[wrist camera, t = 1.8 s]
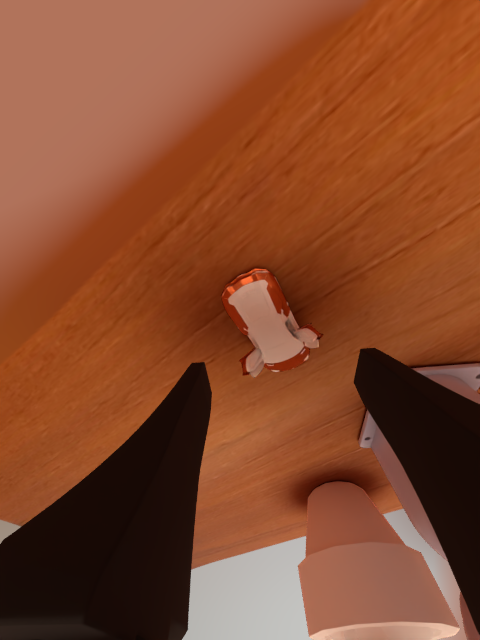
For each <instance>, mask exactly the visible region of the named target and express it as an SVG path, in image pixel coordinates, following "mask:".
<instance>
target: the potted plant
mask: <svg viewBox="0 0 480 640" xmlns="http://www.w3.org/2000/svg"><path fill="white" fill-rule="evenodd" d="M298 569H299V576H300V582H301V589H302V595H303V601H304V608H305V614H306V620H307V626H308V632H309V637H310V638H311V639H313V640H438V639H442V638H446V637H450V636H454V635H456V633H457V632H458V631H459V629H460V627H459V625H458V623H457V621H456V620H455V617H454V616H453V614H452V612H451V610H450V608H449V606H448V604H447V602H446V600H445V598H444V596H443V594H442V592H441V590H440V589H439V587H438V585H437V583H436V581H435V579H434V577H433V575H432V573H431V571H430V569H429V567H428V565H427V563H426V561H425V560H424V558H423V556H422V554H421V552H419V551H416V550H414V549H412V548H410V547H408V546H406V545H405V544H404V542H403V541H402V540H401V539H400V537H399V536H398V534H397V533H396V532H395V530H394V529H393V528H392V527H391V525H390V524H389V523H388V521H387V520H386V519H385V517H384V516H383V515H382V513H381V512H380V511H379V509H378V508H377V507H376V505H375V504H374V503H373V501H372V500H371V499H370V497H369V496H368V495H367V493H366V492H365V491H364V490H363V489H362V488H360V487H359V486H357V485H355V484H353V483H350V482H341V481H336V482H330V483H325V484H323V485H321V486H319V487H317V488H315V489H314V490H313V491H312V493H311V494H310V495H309V497H308V507H307V533H306V558H305V559H304V560H303V561H302V562H301V563H300V564H299V565H298Z"/></svg>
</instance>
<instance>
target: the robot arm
mask: <svg viewBox="0 0 480 640" xmlns="http://www.w3.org/2000/svg"><path fill="white" fill-rule="evenodd" d="M354 384H355V386H356V388H357V391H358V393H359V395H360V397H361V399H362V401H363V403H364V405H365V407H366V408H367V412H366V416H365V419H364V423H363V427H362V431H361V434H360V438H359V445H360V447H362V448H372V450H373V452H374V454H375V456H376V458H377V460H378V461H379V463H380V465H381V467H382V469H383V471H384V473H385V474H386V476H387V478H388V480H389V482H390V484H391V486H392V487H393V489H394V491H395V493H396V495H397V497H398V499H399V500H400V502H401V504H402V506H403V508H404V510H405V511H406V513H407V515H408V517H409V519H410V521H411V522H412V524H413V526H414V527H415V529H416V530H417V531H418V533H419V534H420V535H421V536H422V538H423V539H424V540H425V541H426V542H427V543H428V544H429V545H430V546H431V547H432V548H433V549H434V550H435V551H436V552H437V553H438V554H439V555H441V556H442V557H443V558H444V559H446V560H447V561H448V562H449V565H450V567H451V569H452V572H453V574H454V576H455V579H456V581H457V584H458V586H459V588H460V590H461V592H460V608H461V614H462V618H463V624H464V629H465V633H466V637H467V640H480V394H479V393H478V392H477V390H478V389H479V387H480V363H475V364H462V365H449V366H436V367H423V368H410V367H408V366H406V365H405V364H403V363H401V362H399V361H398V360H396V359H394V358H392V357H391V356H389V355H387V354H385V353H383V352H382V351H380V350H378V349H376V348H366V349H360V354H359V359H358V364H357V368H356V373H355V378H354ZM211 397H212V392H211V388H210V383H209V379H208V375H207V371H206V366H205V362H200V363H192V364H191V365H190V366H189V367H188V369H187V370H186V371H185V373H184V374H183V375H182V377H181V378H180V380H179V381H178V382H177V384H176V385H175V386H174V388H173V389H172V390H171V391H170V393H169V394H168V395H167V396H166V398H165V399H164V400H163V401H162V403H161V404H160V405H159V406H158V407H157V409H156V410H155V411H154V412H153V413H152V414H151V416H150V417H149V418H148V419H147V420H146V421H145V422H144V423H143V424H142V425H141V426H140V428H139V429H138V430H137V431H136V432H135V433H134V434H133V435H132V436H131V437H130V438H129V439H128V440H127V441H126V442H125V443H124V444H123V445H122V446H120V447H119V448H118V449H117V450H116V451H115V452H114V453H113V454H112V455H111V456H109V457H108V458H107V459H106V460H105V461H104V462H103V463H102V464H101V465H100V466H98V467H97V468H96V469H95V470H94V471H93V472H91V473H90V474H89V475H88V476H87V477H85V478H84V479H83V480H82V481H81V482H79V483H78V484H77V485H76V486H74V487H73V488H72V489H71V490H69V491H68V492H67V493H66V494H64V495H63V496H62V497H61V498H59V499H58V500H57V501H55V502H54V503H53V504H52V505H50V506H49V507H47V508H46V509H45V510H43V511H42V512H41V513H39V514H38V515H37V516H35V517H34V518H33V519H31V520H30V521H29V522H27V523H26V524H25V525H23V526H22V527H21V528H19V529H18V530H17V531H15V532H14V533H12V534H11V535H10V536H8V537H7V538H5V539H4V540H3V541H2V543H1V544H0V640H182V638H183V637H184V635H185V634H186V632H187V630H188V611H189V595H190V578H191V564H192V550H193V537H194V525H195V514H196V502H197V492H198V482H199V474H200V467H201V461H202V456H203V451H204V445H205V440H206V435H207V429H208V424H209V418H210V411H211Z"/></svg>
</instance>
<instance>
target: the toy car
mask: <svg viewBox="0 0 480 640" xmlns="http://www.w3.org/2000/svg"><path fill="white" fill-rule="evenodd" d="M246 291H247V292H246ZM222 302H223V306H224V308H225V310H226V312H227V314H228V315H229V317H230V318H231V319H232V321H233V322H234V323H235V324H236V326H237V327H238V329H239V330H240V331H241V332H242V333H243V334H244V335H247V336H248V337H249V339H250V340H251V342H252V343H253V345H254V346H255V348H253V349H252V350H251V351H250V352H249V353H248V354H246V355H245V356H244V357H243V358H242V359H240V360H239V361H240V362H241V364H242V368H243V375H249V373H250V374H251V375H252V376H253V377H254V378H255V377H256V376H257V375H258V374H259V373H260V372H261V371H262V369H263V367H265V368H267V369H268V370H271V371H274V372H281V371H285V370H290V369H294V368H296V367H298V366H299V365H300V364H302V363H304V362H305V361H306V360H307V359H308V358H309V354H310V348H317V347H319V342H318V340H319V339H320V338H321V337H322V336H323V334H321V333H319V332H318V331H317V330H315V329H314V328H313V327H312V326H311V323H310V324H307V325H305V326H302V327H300V328H299V326H298V324H297V322H296V320H295V318H294V316H293V314H292V312H291V310H290V307H289V304H288V302H287V300H286V298H285V296H284V294H283V292H282V290H281V287H280V285H279V283H278V281H277V279H276V277H275V276H274V275H273V274H272V273H271V272H269V271H268V270H266V269H254V270H252V271H251V272H248V273H244V274H241V275H239V276H238V277H237V278H236V279H235V280H233V281H232V282H231V283H228V284H226V286H225V288H224V290H223V292H222Z"/></svg>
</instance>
